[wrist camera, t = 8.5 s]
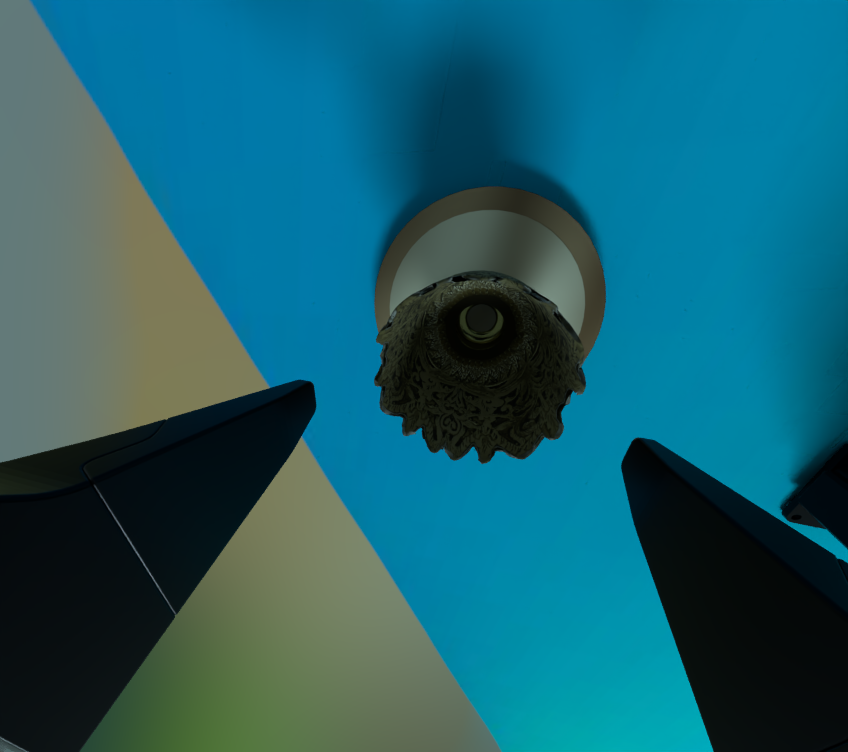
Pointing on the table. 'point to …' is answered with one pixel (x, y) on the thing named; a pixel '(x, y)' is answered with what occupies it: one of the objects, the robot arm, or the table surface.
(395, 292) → the hub plate
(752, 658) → the robot arm
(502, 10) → the table surface
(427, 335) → the cup
